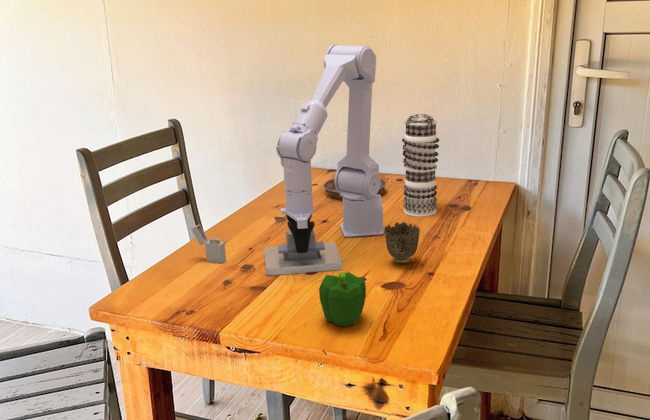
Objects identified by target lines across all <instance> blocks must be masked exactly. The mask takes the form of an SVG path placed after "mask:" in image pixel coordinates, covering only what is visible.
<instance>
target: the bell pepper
mask: <svg viewBox="0 0 650 420" xmlns="http://www.w3.org/2000/svg"><path fill="white" fill-rule="evenodd" d="M366 284H367V283H366V280H365V279H364V278H363V277H362V276H361V277H359V276H357V275H355V274H353V273H351V272H349V271H347V272H345V271H340V272H339V273H338V275H334V274H333V275H330V274H325V276H324V278H323V279H322V281H321V282H320V284H319V288H318V292H319V301H320V305H321V309H322V312H323V315H324V317H325V319H326V320H327V321H328V322H330V323H334V325H337V326H339V327H349V326H354V325H355V324H356V323H357V322H358V321H359V320H360V318H361V316H362V313H363V310H364V306H365V303H366V298H367V288H366Z"/></svg>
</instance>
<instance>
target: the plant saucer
mask: <svg viewBox="0 0 650 420" xmlns="http://www.w3.org/2000/svg"><path fill="white" fill-rule="evenodd" d="M334 179H335V178H332V179H330V180H327V181H325V182H324V183H323V188H324V189H325V191H326V192H327V193H328V194H329V195H330V196H331V197H333V198H334V199H339V200H343V196H340V192H339V191H338V190H337V189H336V187H335V183H334ZM380 180H381V183H380V188H379V191H378V192H377V194H379V195H380V193H382V192H383V190H384V188H385V186H386V185H387V184H386V183H387V182H386V181H385V180H384V179H382V178H380Z"/></svg>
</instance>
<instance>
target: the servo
mask: <svg viewBox="0 0 650 420" xmlns="http://www.w3.org/2000/svg"><path fill="white" fill-rule="evenodd" d="M285 237H286V244H277V246H278V254H281V253H287V256H288V261H298V260H311V259H316V251H318V250H325V246H324V243H325V242H324V241H316V234H315V230H314V229H313V230H312V232H311V235H310V239H309V246H308V251H307V253H297V250H296V246H295V241H294V237H293V235H292V232H291V231H290V229H288V230H287V231H285Z"/></svg>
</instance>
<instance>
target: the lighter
mask: <svg viewBox="0 0 650 420" xmlns="http://www.w3.org/2000/svg"><path fill="white" fill-rule="evenodd" d="M191 231H192V233H193V235H194V236H195V239H196V240H197V242H198V244H199V246H201V245H203V244H204V247H205V248H204V249H205V250H204V251H205V258H206V262H211V263H219V264H223V263H225V262H226V261H227V255H226V254H227V253H226V244H225V241H221V240H220V238H219V237H213V236H212V237H210V238H209V239H208V237H207V235H206V233H205V231H204V229H203V228H202V226H201V224H200V223H198V224H197V225H194V226H193V227H191Z"/></svg>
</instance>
